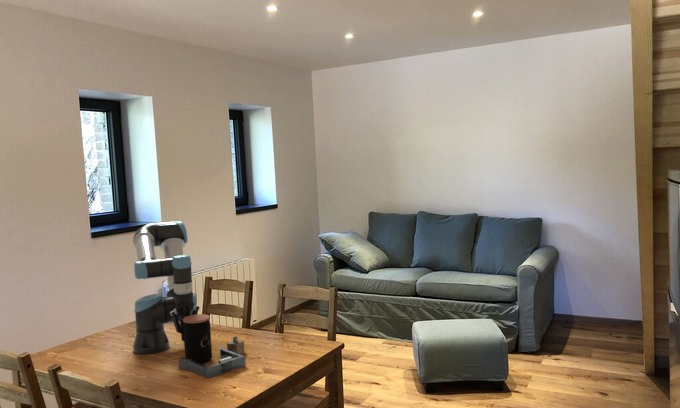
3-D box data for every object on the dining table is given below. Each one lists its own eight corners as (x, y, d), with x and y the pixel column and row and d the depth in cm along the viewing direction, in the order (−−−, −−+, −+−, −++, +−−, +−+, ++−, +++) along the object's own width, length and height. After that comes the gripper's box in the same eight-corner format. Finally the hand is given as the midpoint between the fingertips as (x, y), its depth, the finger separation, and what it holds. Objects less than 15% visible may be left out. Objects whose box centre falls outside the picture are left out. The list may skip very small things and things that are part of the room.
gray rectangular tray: (178, 368, 223) (177, 355, 222) (222, 355, 237) (222, 342, 237) (203, 380, 209) (202, 366, 209) (249, 364, 224) (248, 352, 224)
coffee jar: (205, 365, 225) (202, 321, 224) (180, 365, 227) (177, 321, 226) (216, 356, 235) (214, 314, 234) (192, 356, 238) (190, 314, 236)
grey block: (227, 355, 237) (226, 337, 237) (234, 351, 242) (233, 334, 241) (237, 356, 235) (236, 338, 235) (244, 352, 240) (243, 335, 239)
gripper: (173, 296, 229) (177, 353, 230) (202, 290, 238) (205, 345, 239) (164, 294, 234) (168, 350, 235) (192, 288, 243) (196, 342, 244)
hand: (187, 348), depth 237 cm, fingers closed
